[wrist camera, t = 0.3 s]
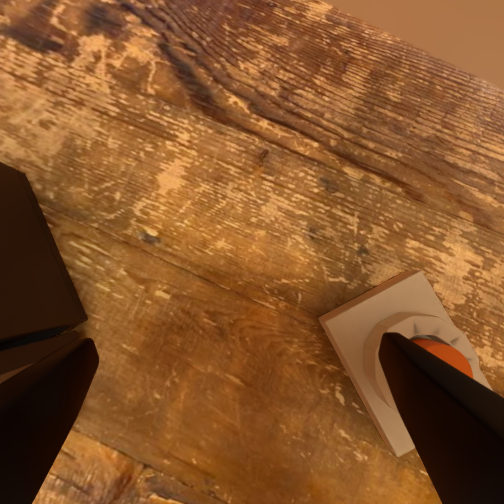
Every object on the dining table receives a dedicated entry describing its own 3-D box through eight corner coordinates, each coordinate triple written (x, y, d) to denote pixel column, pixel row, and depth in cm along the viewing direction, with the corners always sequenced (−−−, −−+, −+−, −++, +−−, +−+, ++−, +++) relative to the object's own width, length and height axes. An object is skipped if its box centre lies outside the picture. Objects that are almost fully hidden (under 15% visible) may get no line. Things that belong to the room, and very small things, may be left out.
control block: (472, 387, 20) (526, 413, 16) (381, 439, 20) (414, 478, 16) (405, 271, 21) (439, 268, 17) (317, 317, 21) (332, 326, 17)
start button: (462, 379, 17) (486, 390, 15) (413, 407, 17) (432, 421, 15) (432, 328, 17) (452, 333, 16) (384, 354, 17) (399, 362, 15)
